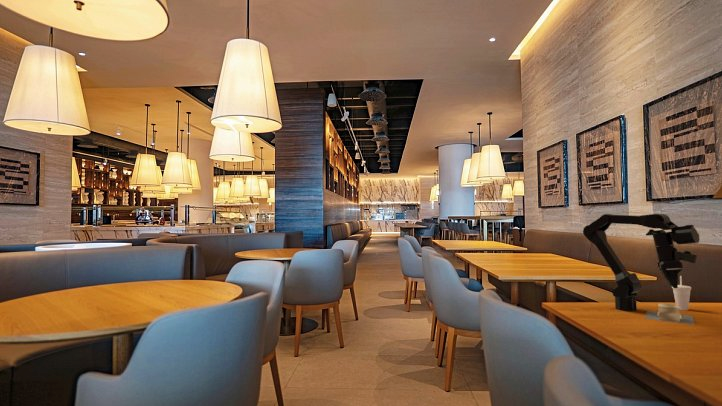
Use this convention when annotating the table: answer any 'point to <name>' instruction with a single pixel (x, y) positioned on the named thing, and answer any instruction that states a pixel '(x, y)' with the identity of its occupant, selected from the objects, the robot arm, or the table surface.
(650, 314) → the board
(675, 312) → the maple block
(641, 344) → the table surface
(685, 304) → the smoothie
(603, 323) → the table surface
